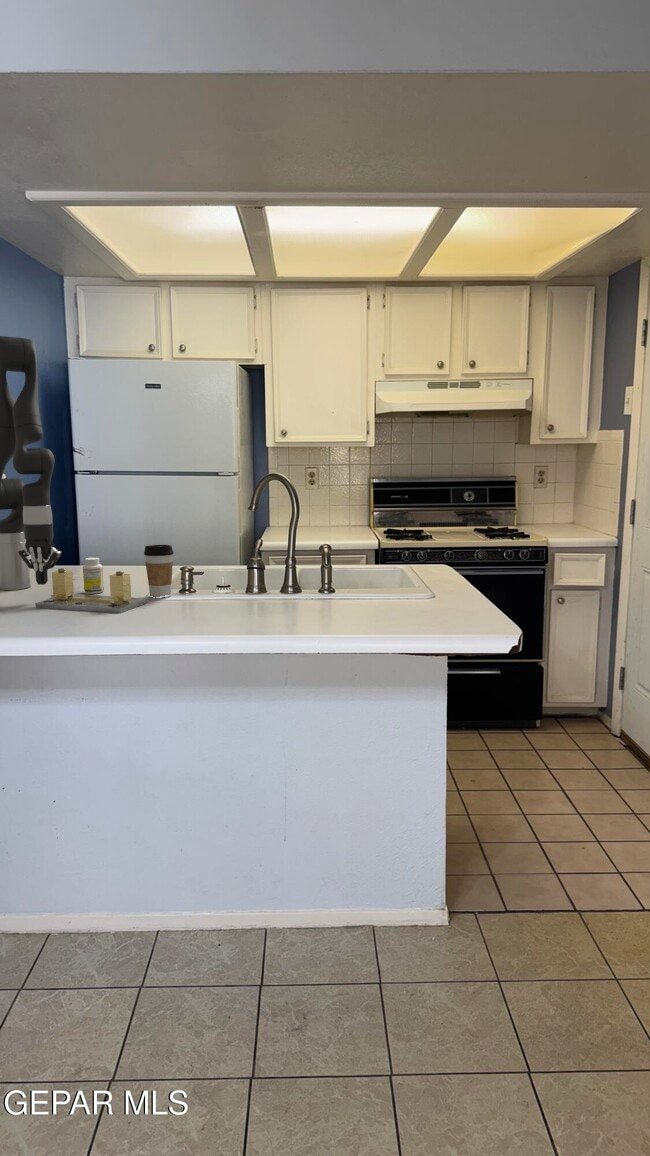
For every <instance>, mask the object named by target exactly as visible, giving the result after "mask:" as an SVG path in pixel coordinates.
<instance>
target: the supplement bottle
mask: <svg viewBox="0 0 650 1156" xmlns="http://www.w3.org/2000/svg"><path fill="white" fill-rule="evenodd" d="M84 562H85V563H84V565H83V566H82V573H83V574H82V575H83V590H84V593H85V594H86V595H96V594H101V593H103V592H104V572H103V564H101V563H100V557H87V558H84Z"/></svg>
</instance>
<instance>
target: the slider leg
mask: <svg viewBox="0 0 650 1156" xmlns="http://www.w3.org/2000/svg"><path fill="white" fill-rule="evenodd" d="M73 574H74V573H73V571H72V570H67V568H64V567H63V568H58V569H57V570H56V571H53V572H51V579H52V593H53V594H51V596H50V598H53V601H55V600H56V599H65V600H66V599H68V597H67V596H70V597H74V594H75V591H74V578H73V576H74V575H73Z"/></svg>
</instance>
